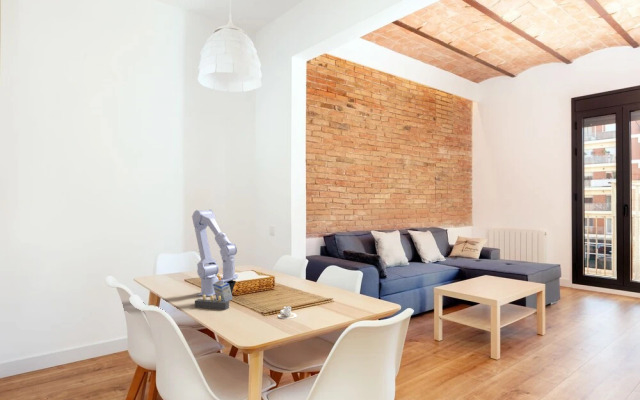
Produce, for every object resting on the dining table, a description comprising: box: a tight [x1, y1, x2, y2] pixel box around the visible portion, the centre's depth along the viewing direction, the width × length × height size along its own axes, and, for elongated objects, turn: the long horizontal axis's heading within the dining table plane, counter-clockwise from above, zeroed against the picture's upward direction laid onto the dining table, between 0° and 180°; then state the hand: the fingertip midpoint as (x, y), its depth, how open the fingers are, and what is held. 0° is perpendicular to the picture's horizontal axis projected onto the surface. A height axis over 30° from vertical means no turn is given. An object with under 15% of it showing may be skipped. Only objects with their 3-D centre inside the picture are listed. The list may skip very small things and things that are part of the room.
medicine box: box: [213, 280, 233, 302], centre depth 187 cm, size 8×4×9 cm, turn 47°
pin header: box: [194, 295, 230, 311], centre depth 177 cm, size 3×16×6 cm, turn 73°
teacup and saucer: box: [277, 305, 298, 320], centre depth 164 cm, size 9×8×4 cm
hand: (229, 295), depth 192 cm, fingers closed
